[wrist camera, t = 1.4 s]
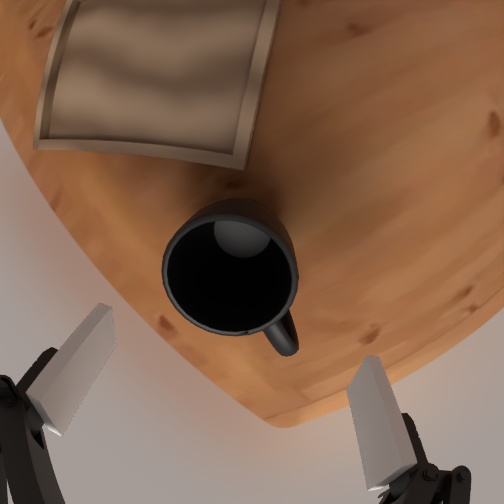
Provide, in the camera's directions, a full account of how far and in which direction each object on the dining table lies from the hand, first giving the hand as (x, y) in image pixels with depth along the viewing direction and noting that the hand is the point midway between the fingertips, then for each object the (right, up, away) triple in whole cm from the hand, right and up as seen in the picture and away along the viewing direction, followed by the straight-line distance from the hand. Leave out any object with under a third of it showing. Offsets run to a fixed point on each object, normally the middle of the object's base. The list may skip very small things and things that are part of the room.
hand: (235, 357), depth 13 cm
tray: (-8, +28, +4) cm, 29 cm away
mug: (+1, +6, +13) cm, 14 cm away
